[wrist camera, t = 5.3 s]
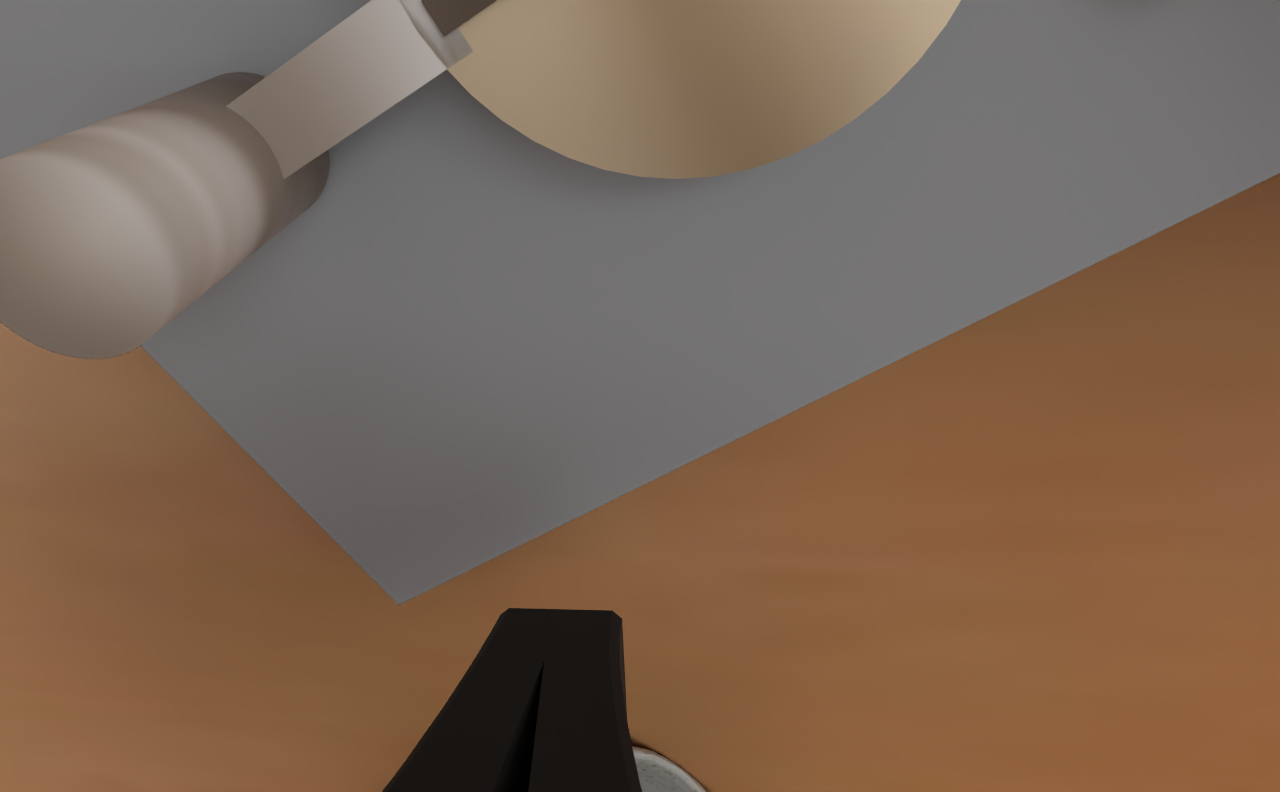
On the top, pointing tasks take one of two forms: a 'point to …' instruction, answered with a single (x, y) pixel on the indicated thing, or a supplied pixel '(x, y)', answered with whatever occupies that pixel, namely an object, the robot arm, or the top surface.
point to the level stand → (642, 252)
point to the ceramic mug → (662, 774)
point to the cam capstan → (384, 75)
